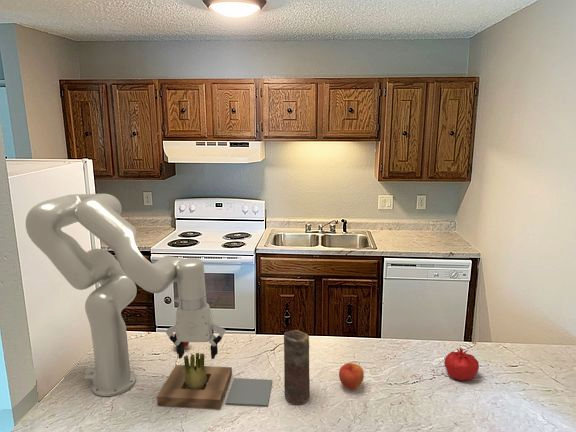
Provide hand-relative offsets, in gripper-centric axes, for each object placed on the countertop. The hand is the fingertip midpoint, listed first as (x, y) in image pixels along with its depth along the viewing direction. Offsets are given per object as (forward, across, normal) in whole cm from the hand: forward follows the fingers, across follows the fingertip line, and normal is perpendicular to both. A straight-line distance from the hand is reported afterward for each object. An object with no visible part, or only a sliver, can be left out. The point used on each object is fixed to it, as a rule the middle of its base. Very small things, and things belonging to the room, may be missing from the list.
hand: (197, 356), depth 124 cm
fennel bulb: (+11, -1, 0) cm, 11 cm away
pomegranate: (+14, +80, +14) cm, 82 cm away
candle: (+12, +29, -1) cm, 31 cm away
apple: (+13, +45, +5) cm, 47 cm away
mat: (+12, +15, 0) cm, 19 cm away
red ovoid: (+11, -13, +23) cm, 29 cm away
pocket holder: (+11, -1, 0) cm, 11 cm away
